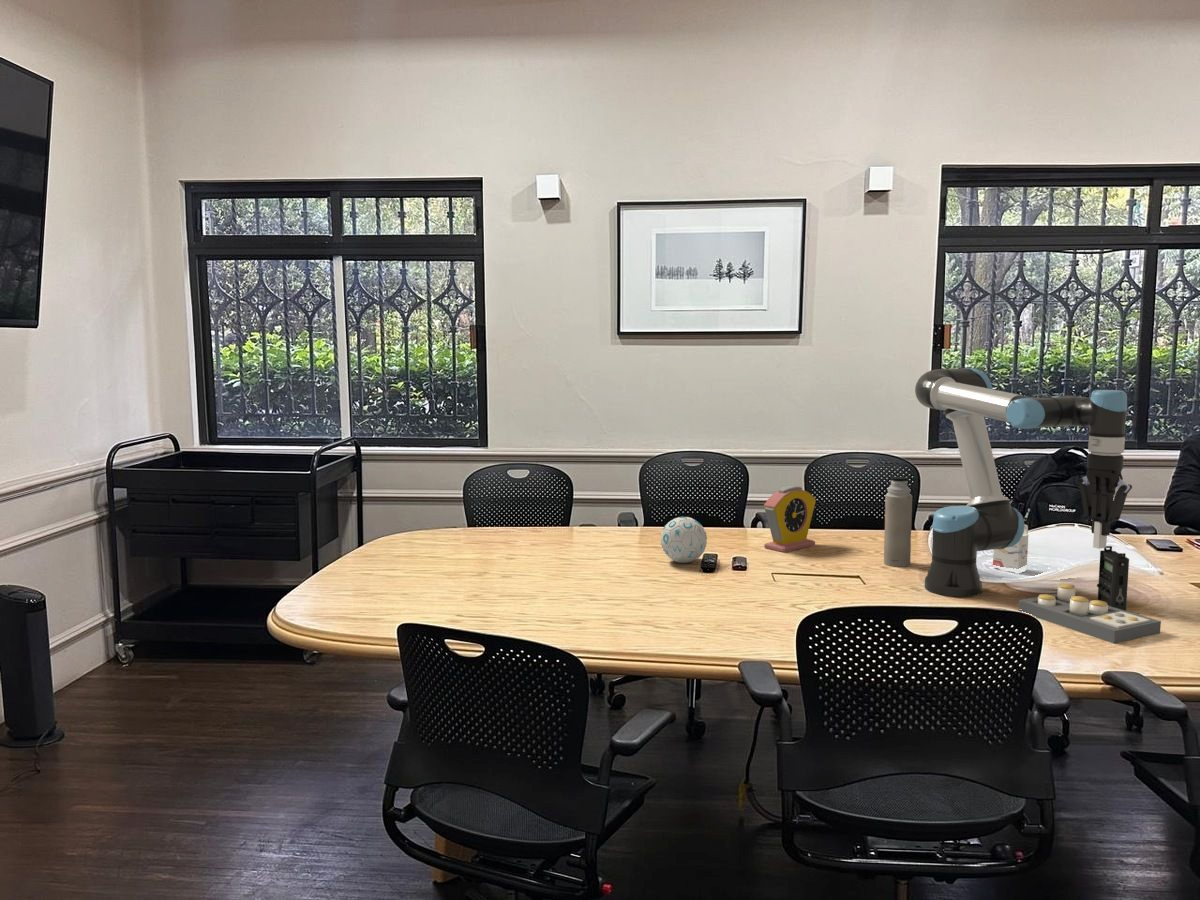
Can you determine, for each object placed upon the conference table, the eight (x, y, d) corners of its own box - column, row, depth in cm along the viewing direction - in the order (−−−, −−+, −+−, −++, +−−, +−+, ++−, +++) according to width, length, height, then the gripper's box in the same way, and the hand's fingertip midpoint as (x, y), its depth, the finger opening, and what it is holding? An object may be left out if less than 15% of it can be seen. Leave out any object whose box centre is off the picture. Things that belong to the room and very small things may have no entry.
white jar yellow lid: (1065, 613, 203) (1066, 597, 203) (1076, 611, 205) (1077, 595, 204) (1080, 618, 200) (1081, 601, 199) (1091, 615, 201) (1092, 599, 201)
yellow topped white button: (1084, 617, 206) (1085, 601, 206) (1096, 615, 208) (1096, 599, 207) (1099, 622, 202) (1100, 605, 202) (1111, 619, 204) (1111, 603, 203)
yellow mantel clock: (778, 554, 277) (779, 491, 274) (758, 549, 284) (758, 488, 282) (820, 544, 290) (821, 484, 287) (799, 539, 297) (800, 481, 295)
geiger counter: (1091, 598, 223) (1094, 544, 221) (1110, 599, 222) (1113, 545, 220) (1108, 610, 213) (1111, 554, 211) (1127, 611, 212) (1131, 554, 210)
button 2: (1053, 599, 214) (1054, 584, 214) (1064, 597, 216) (1065, 582, 215) (1067, 604, 210) (1068, 588, 210) (1078, 602, 212) (1079, 586, 211)
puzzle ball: (661, 556, 277) (661, 512, 276) (706, 556, 276) (706, 512, 274) (660, 567, 262) (660, 521, 261) (707, 568, 261) (707, 522, 259)
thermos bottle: (879, 563, 262) (881, 477, 259) (890, 559, 268) (893, 474, 265) (903, 568, 257) (905, 480, 253) (914, 563, 262) (917, 477, 259)
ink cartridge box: (991, 568, 255) (993, 522, 253) (1001, 566, 257) (1002, 520, 256) (1018, 574, 247) (1020, 526, 246) (1027, 572, 250) (1029, 524, 248)
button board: (1018, 611, 213) (1019, 597, 213) (1062, 603, 219) (1062, 589, 219) (1113, 643, 189) (1114, 627, 189) (1160, 633, 195) (1161, 618, 195)
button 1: (1033, 611, 212) (1034, 595, 211) (1044, 608, 213) (1045, 593, 213) (1047, 615, 208) (1048, 599, 208) (1058, 613, 210) (1059, 597, 209)
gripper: (1070, 451, 205) (1065, 543, 208) (1120, 457, 193) (1114, 555, 196) (1091, 449, 208) (1085, 540, 211) (1142, 455, 196) (1135, 551, 199)
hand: (1099, 547), depth 203 cm, fingers closed
